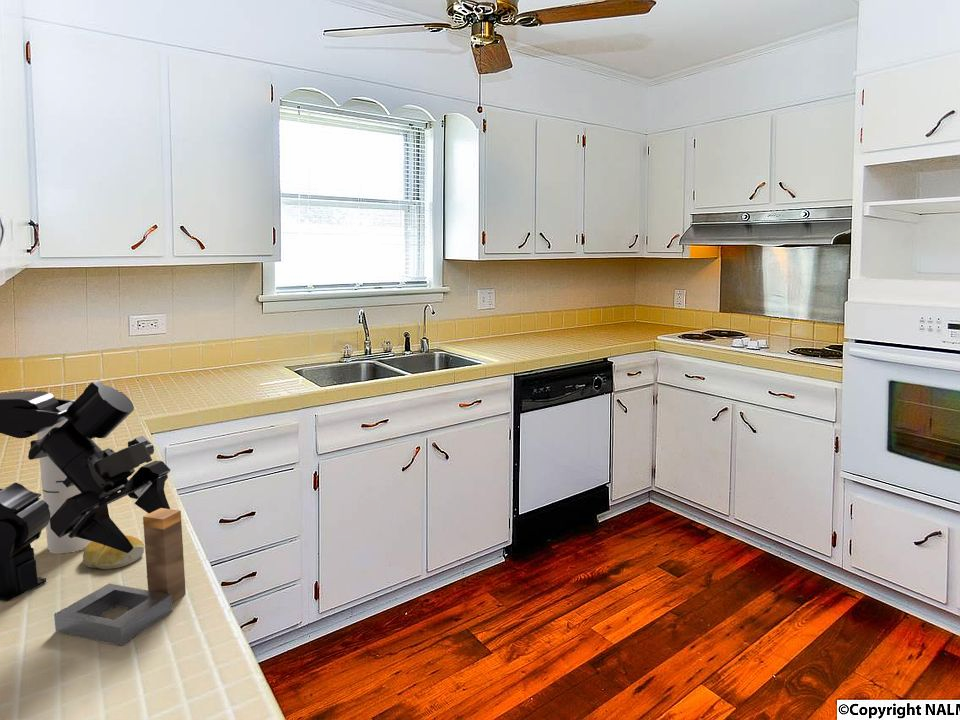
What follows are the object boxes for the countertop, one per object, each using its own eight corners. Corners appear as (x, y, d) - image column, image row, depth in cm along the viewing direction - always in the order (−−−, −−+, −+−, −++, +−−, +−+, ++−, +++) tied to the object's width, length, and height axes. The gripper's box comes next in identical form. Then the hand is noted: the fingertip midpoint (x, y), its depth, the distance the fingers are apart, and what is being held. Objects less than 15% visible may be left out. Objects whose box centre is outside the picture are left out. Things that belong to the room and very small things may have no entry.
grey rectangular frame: (55, 631, 89) (54, 614, 89) (110, 599, 98) (109, 583, 97) (121, 645, 86) (120, 627, 86) (172, 611, 94) (171, 594, 94)
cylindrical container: (92, 550, 114) (80, 407, 110) (43, 556, 111) (29, 410, 108) (98, 534, 121) (87, 399, 117) (52, 539, 118) (40, 401, 114)
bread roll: (111, 546, 116) (109, 524, 115) (153, 553, 113) (151, 531, 113) (69, 566, 108) (67, 543, 108) (113, 574, 106) (112, 550, 105)
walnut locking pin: (148, 601, 97) (142, 516, 95) (166, 590, 100) (161, 507, 99) (168, 605, 96) (163, 519, 94) (185, 593, 99) (180, 510, 98)
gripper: (60, 441, 87) (140, 528, 86) (155, 410, 105) (222, 482, 105) (15, 494, 90) (93, 579, 89) (115, 455, 108) (181, 525, 107)
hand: (153, 537), depth 97 cm, fingers open, 9 cm apart
